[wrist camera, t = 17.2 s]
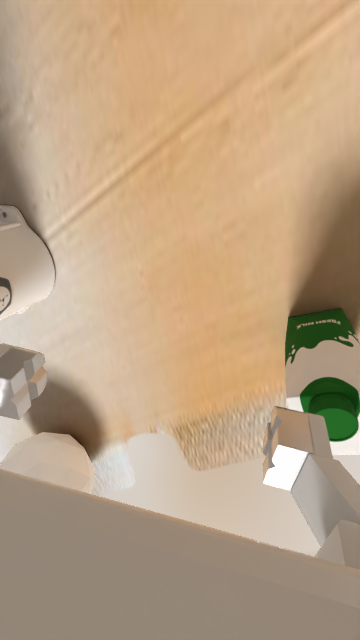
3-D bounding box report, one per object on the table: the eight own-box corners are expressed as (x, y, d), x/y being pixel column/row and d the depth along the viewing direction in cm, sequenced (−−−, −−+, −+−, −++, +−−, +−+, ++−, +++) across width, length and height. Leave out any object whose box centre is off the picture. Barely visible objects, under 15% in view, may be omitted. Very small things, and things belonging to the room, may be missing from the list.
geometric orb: (98, 417, 78) (113, 477, 61) (76, 488, 82) (83, 564, 64) (11, 408, 70) (-3, 474, 53) (-10, 487, 74) (-29, 574, 56)
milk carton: (347, 300, 44) (388, 400, 27) (356, 357, 47) (398, 478, 30) (280, 312, 47) (277, 408, 30) (292, 365, 50) (297, 478, 33)
